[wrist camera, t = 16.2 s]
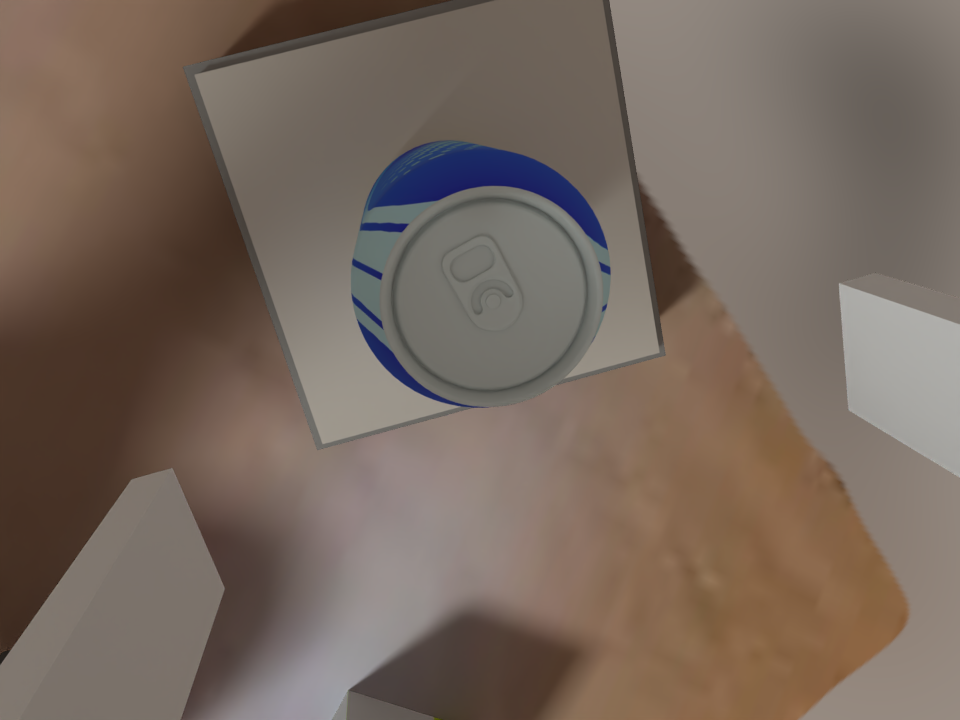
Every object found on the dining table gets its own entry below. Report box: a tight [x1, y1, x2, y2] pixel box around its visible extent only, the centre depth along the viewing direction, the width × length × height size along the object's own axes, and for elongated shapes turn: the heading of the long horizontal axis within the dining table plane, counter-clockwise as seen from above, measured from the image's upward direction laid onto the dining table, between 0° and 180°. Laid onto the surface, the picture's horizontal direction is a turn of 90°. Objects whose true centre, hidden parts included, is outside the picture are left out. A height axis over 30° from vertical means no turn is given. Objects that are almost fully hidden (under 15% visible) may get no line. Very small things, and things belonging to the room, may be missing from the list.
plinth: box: [183, 0, 666, 450], centre depth 38 cm, size 20×20×5 cm
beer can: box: [351, 140, 611, 408], centre depth 28 cm, size 8×8×16 cm
